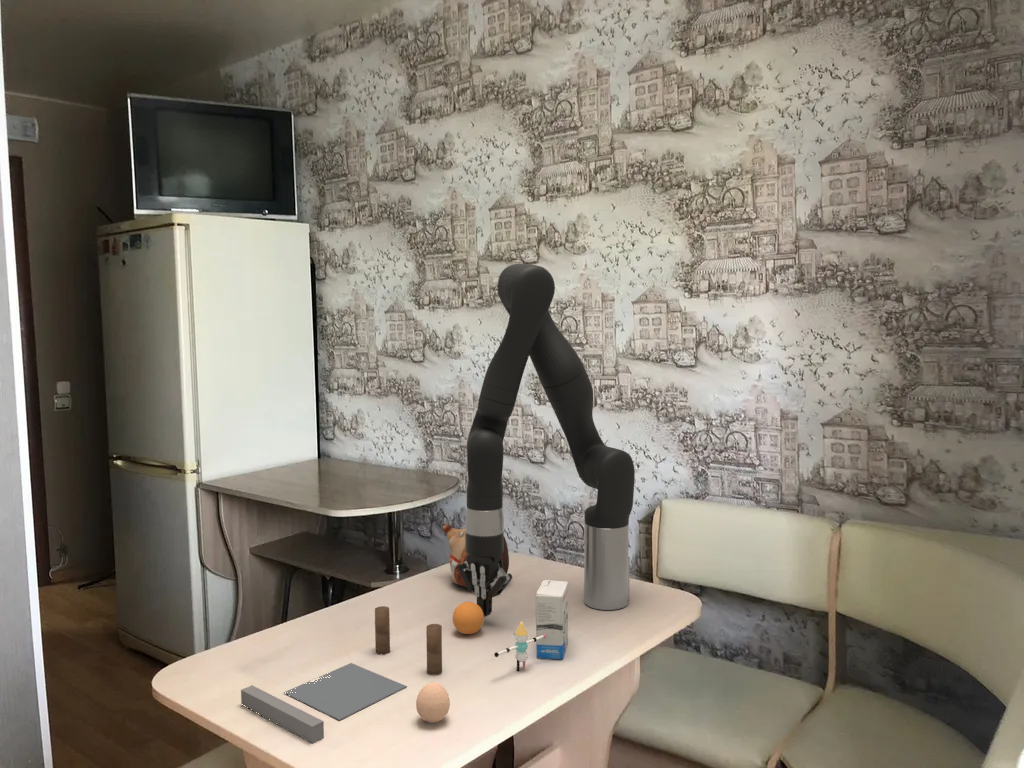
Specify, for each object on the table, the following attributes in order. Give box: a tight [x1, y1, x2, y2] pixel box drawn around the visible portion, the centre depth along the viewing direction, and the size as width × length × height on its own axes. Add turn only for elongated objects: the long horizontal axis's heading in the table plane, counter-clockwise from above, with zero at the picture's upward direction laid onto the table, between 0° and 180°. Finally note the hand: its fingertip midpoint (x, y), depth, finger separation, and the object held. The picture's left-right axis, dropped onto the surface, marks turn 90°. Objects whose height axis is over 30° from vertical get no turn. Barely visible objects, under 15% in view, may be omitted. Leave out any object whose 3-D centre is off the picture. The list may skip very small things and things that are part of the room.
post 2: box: [425, 623, 443, 676], centre depth 140 cm, size 3×3×8 cm
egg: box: [415, 682, 451, 724], centre depth 124 cm, size 5×5×6 cm
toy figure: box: [493, 620, 546, 672], centre depth 141 cm, size 12×2×9 cm, turn 133°
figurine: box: [442, 523, 510, 588], centre depth 184 cm, size 14×16×15 cm
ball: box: [452, 601, 485, 635], centre depth 157 cm, size 6×6×6 cm
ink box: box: [535, 579, 569, 661], centre depth 149 cm, size 9×5×12 cm, turn 169°
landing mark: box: [283, 662, 407, 722], centre depth 134 cm, size 14×14×1 cm
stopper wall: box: [240, 684, 325, 744], centre depth 124 cm, size 2×18×2 cm, turn 51°
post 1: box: [374, 605, 391, 655], centre depth 148 cm, size 3×3×8 cm
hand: (484, 615), depth 161 cm, fingers closed
